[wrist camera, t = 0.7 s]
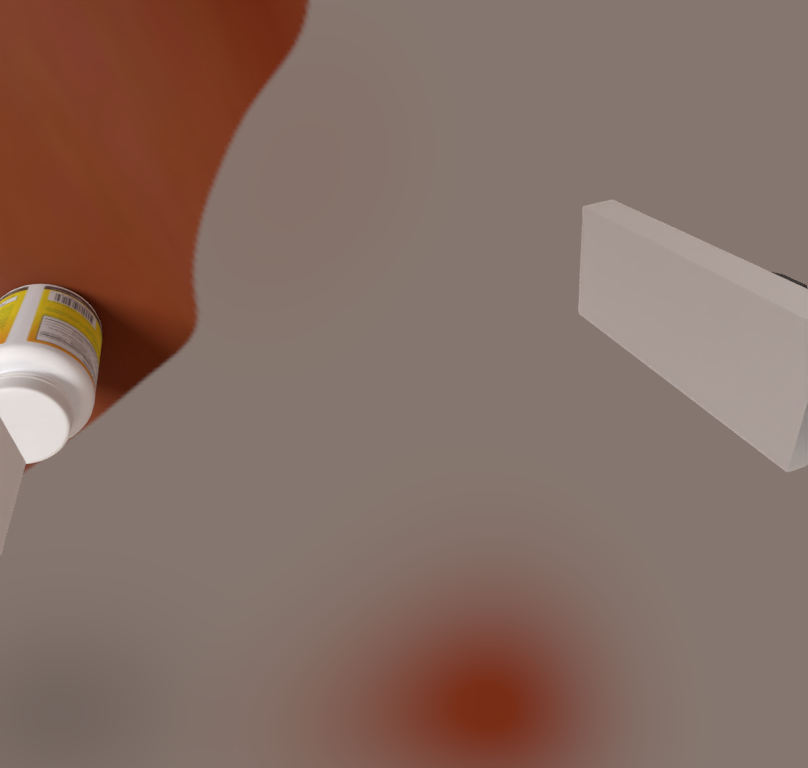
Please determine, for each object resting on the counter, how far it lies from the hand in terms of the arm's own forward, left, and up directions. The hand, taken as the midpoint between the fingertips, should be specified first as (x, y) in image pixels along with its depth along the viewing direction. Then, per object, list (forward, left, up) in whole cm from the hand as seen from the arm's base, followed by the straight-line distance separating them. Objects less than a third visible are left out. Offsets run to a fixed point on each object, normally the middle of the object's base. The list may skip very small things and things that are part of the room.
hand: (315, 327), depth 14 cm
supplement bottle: (-2, -14, -25) cm, 29 cm away
